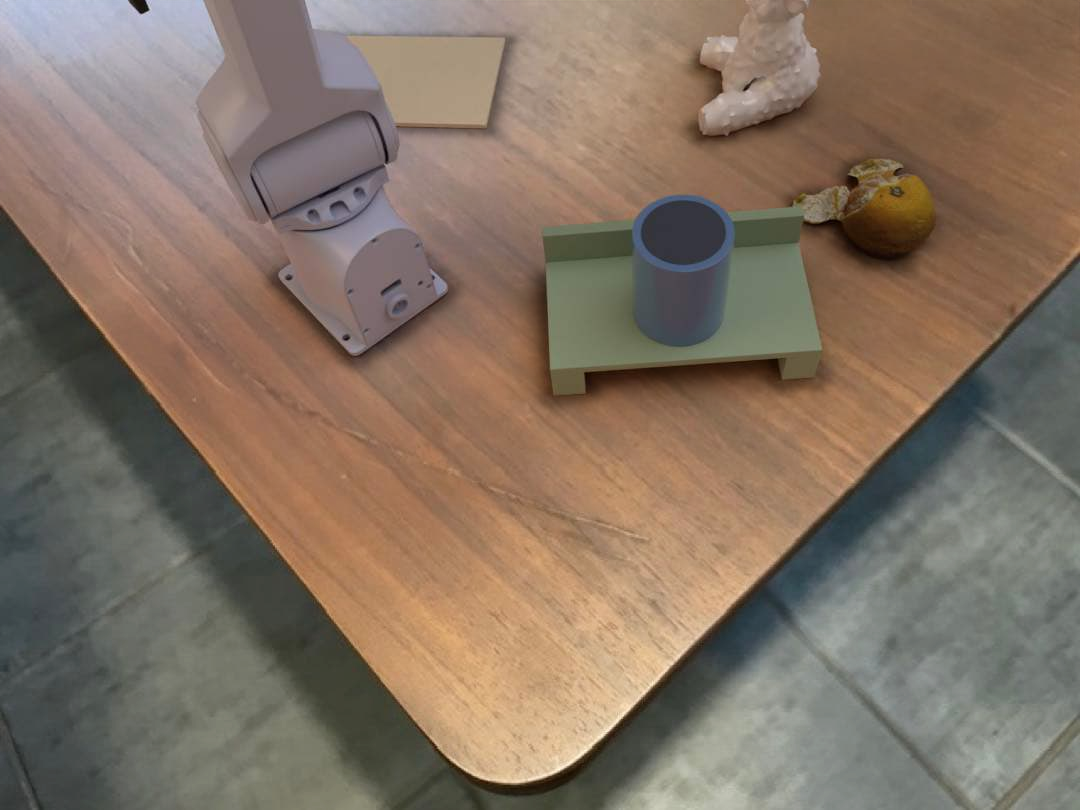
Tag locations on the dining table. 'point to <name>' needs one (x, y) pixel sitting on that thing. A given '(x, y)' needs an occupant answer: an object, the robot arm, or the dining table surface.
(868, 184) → the fruit
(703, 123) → the seated beast figurine
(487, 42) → the mat
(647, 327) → the cup
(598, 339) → the shelf
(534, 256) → the dining table surface
